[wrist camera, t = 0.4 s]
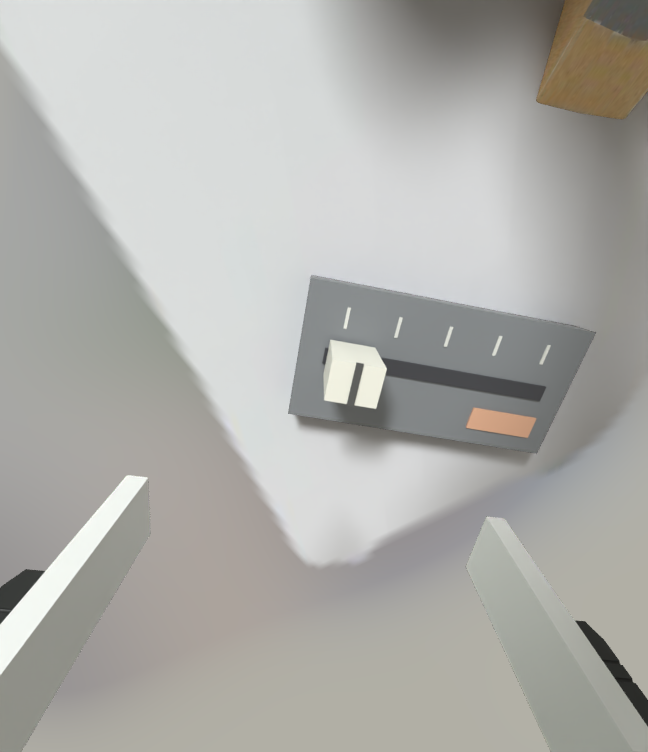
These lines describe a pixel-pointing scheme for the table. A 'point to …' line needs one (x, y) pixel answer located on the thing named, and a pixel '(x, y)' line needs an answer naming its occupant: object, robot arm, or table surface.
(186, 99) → the table surface
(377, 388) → the fader knob
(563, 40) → the sandwich container
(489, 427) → the fader console
